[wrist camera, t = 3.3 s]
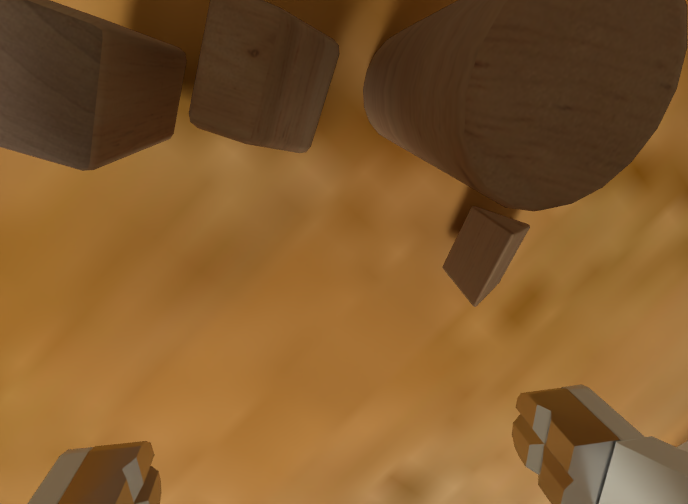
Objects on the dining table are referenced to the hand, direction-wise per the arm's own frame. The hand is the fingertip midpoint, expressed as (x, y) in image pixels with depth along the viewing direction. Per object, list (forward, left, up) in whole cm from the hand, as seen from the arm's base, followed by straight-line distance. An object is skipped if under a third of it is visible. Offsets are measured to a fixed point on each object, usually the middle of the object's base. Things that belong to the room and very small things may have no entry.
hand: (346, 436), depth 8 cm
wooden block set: (+7, -1, -10) cm, 12 cm away
